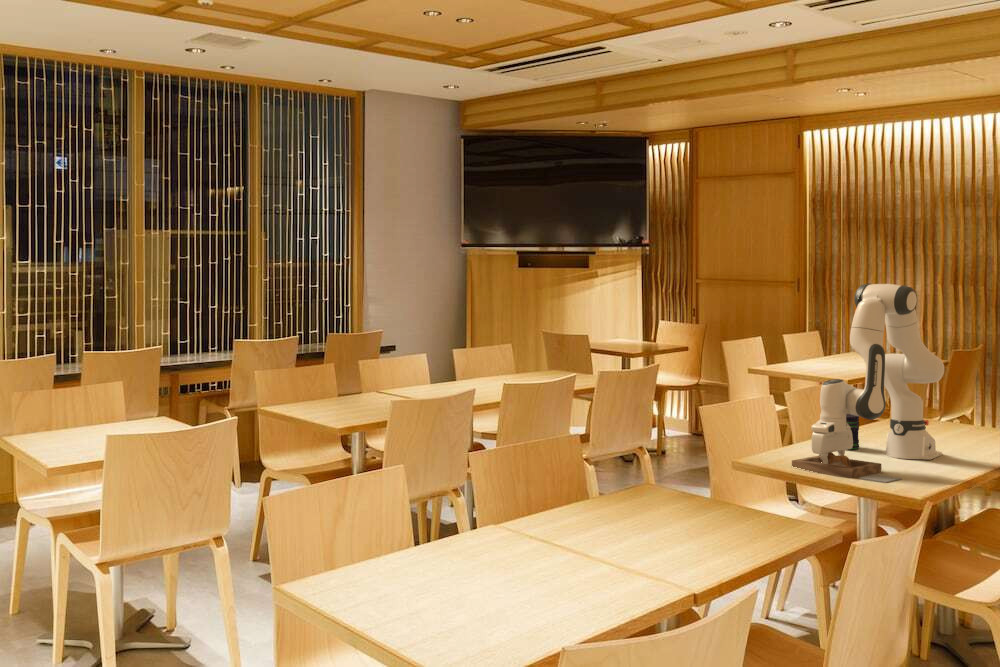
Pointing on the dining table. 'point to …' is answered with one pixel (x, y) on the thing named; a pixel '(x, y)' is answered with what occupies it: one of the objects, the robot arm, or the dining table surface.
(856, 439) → the storage jar
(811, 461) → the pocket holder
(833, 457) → the lion figurine
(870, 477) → the rubber mat
